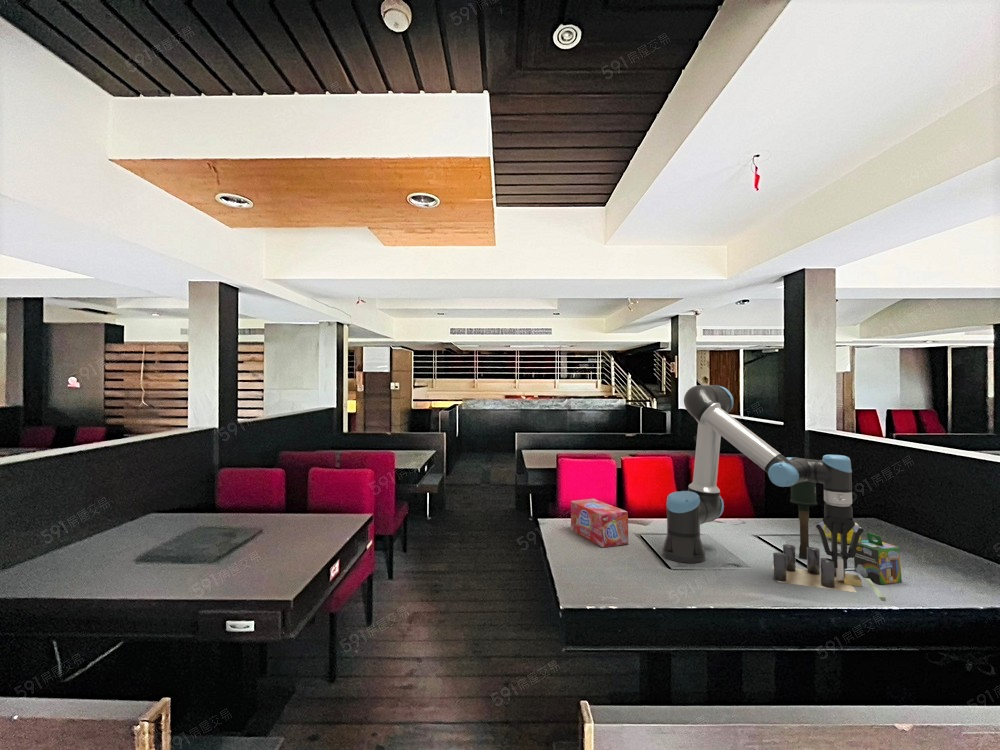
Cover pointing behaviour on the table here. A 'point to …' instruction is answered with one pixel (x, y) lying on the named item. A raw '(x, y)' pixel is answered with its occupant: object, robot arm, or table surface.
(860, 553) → the chalk box
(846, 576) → the tan wooden tile
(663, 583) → the table surface
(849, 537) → the mug
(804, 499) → the potato masher grenade
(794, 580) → the board
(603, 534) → the box
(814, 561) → the spacers
